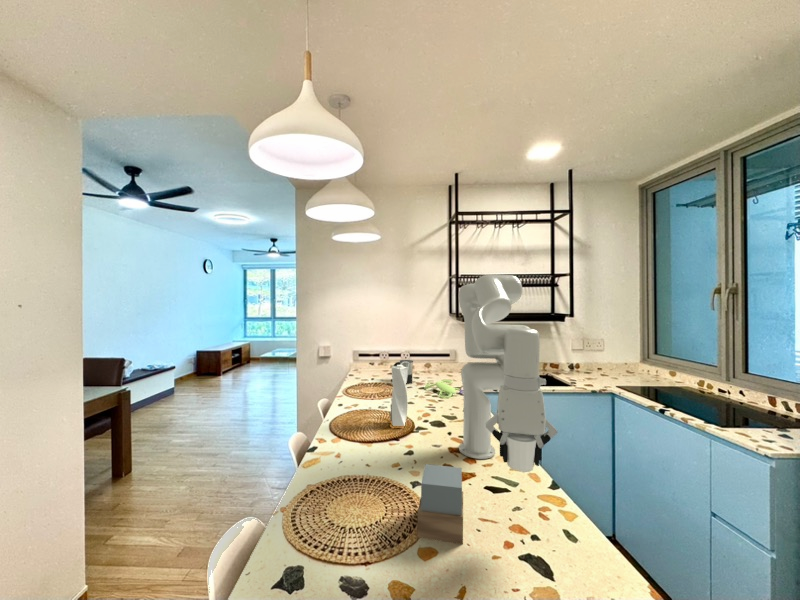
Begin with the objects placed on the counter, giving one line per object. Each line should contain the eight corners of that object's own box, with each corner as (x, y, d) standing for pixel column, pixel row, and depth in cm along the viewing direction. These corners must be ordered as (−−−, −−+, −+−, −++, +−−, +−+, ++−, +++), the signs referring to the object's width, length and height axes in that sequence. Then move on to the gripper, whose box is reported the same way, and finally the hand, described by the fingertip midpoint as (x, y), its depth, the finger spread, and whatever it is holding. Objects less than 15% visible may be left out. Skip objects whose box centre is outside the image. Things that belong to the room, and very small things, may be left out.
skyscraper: (408, 423, 143) (409, 360, 143) (408, 430, 135) (409, 363, 135) (390, 422, 143) (390, 359, 144) (388, 429, 135) (389, 362, 136)
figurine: (447, 386, 211) (447, 377, 211) (470, 396, 186) (470, 387, 187) (422, 388, 205) (422, 379, 205) (442, 399, 180) (442, 389, 180)
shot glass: (528, 457, 77) (528, 428, 77) (542, 473, 70) (542, 441, 70) (500, 457, 77) (500, 428, 77) (510, 473, 70) (511, 441, 70)
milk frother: (413, 381, 222) (413, 359, 222) (411, 387, 206) (412, 363, 206) (392, 380, 223) (393, 359, 224) (389, 386, 208) (390, 363, 208)
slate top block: (425, 488, 81) (425, 464, 81) (461, 492, 80) (461, 467, 80) (421, 510, 72) (421, 483, 72) (461, 515, 71) (461, 488, 71)
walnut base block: (422, 510, 82) (423, 486, 82) (463, 515, 80) (463, 491, 80) (417, 538, 72) (417, 511, 72) (462, 545, 70) (463, 517, 70)
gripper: (557, 380, 75) (556, 457, 75) (481, 376, 79) (480, 449, 79) (567, 389, 68) (566, 474, 68) (483, 384, 71) (481, 465, 71)
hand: (520, 460), depth 73 cm, fingers closed on shot glass, 6 cm apart
